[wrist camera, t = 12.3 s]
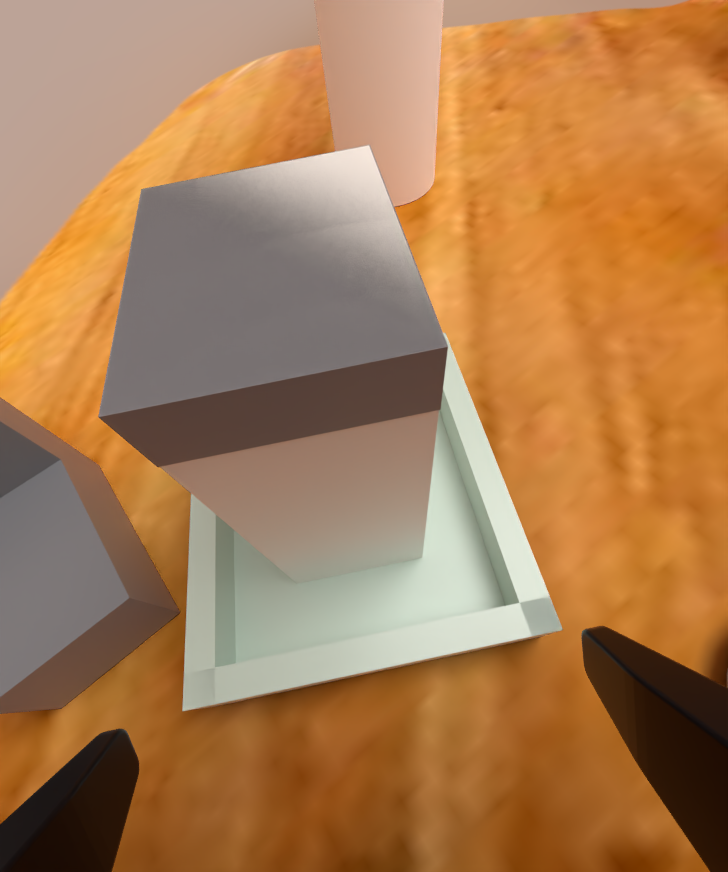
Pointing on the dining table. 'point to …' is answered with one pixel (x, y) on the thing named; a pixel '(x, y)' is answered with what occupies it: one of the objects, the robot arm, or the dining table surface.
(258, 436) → the block
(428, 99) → the cylindrical container
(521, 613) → the tray
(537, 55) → the dining table surface
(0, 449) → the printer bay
